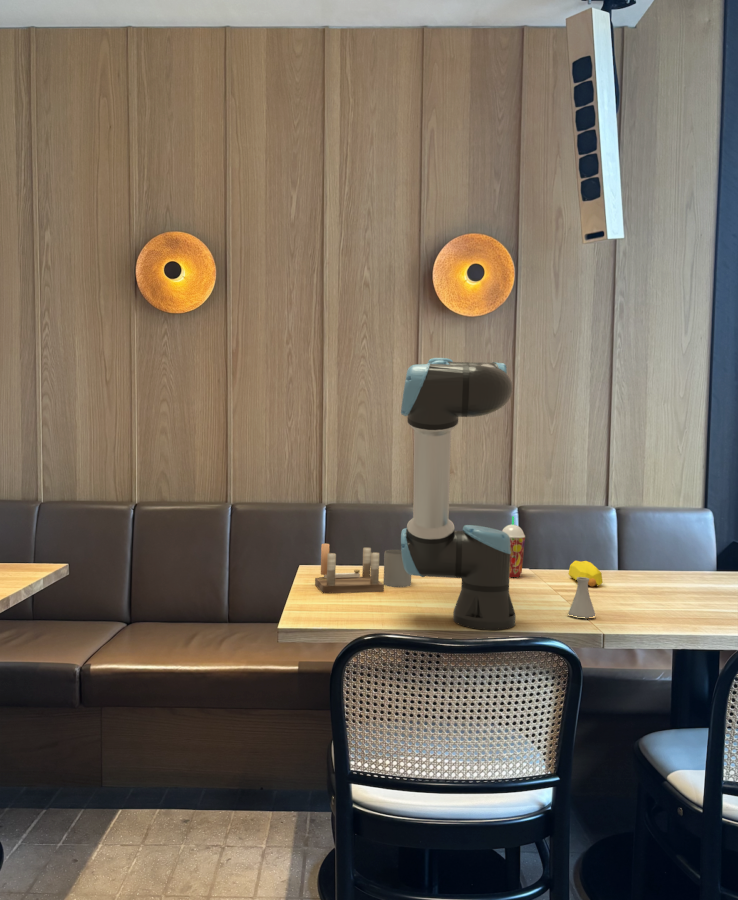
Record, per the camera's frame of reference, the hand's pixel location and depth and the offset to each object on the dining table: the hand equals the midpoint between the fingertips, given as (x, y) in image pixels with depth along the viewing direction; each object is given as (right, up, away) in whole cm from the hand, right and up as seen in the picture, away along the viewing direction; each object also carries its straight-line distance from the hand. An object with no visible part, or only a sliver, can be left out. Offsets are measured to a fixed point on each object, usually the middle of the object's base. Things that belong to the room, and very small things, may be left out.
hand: (436, 491), depth 204 cm
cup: (-11, -29, +8) cm, 32 cm away
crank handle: (-29, -26, +5) cm, 39 cm away
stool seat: (-26, -29, +1) cm, 39 cm away
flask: (+35, -31, -25) cm, 53 cm away
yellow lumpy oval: (+50, -31, +20) cm, 62 cm away
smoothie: (+27, -30, +26) cm, 48 cm away
